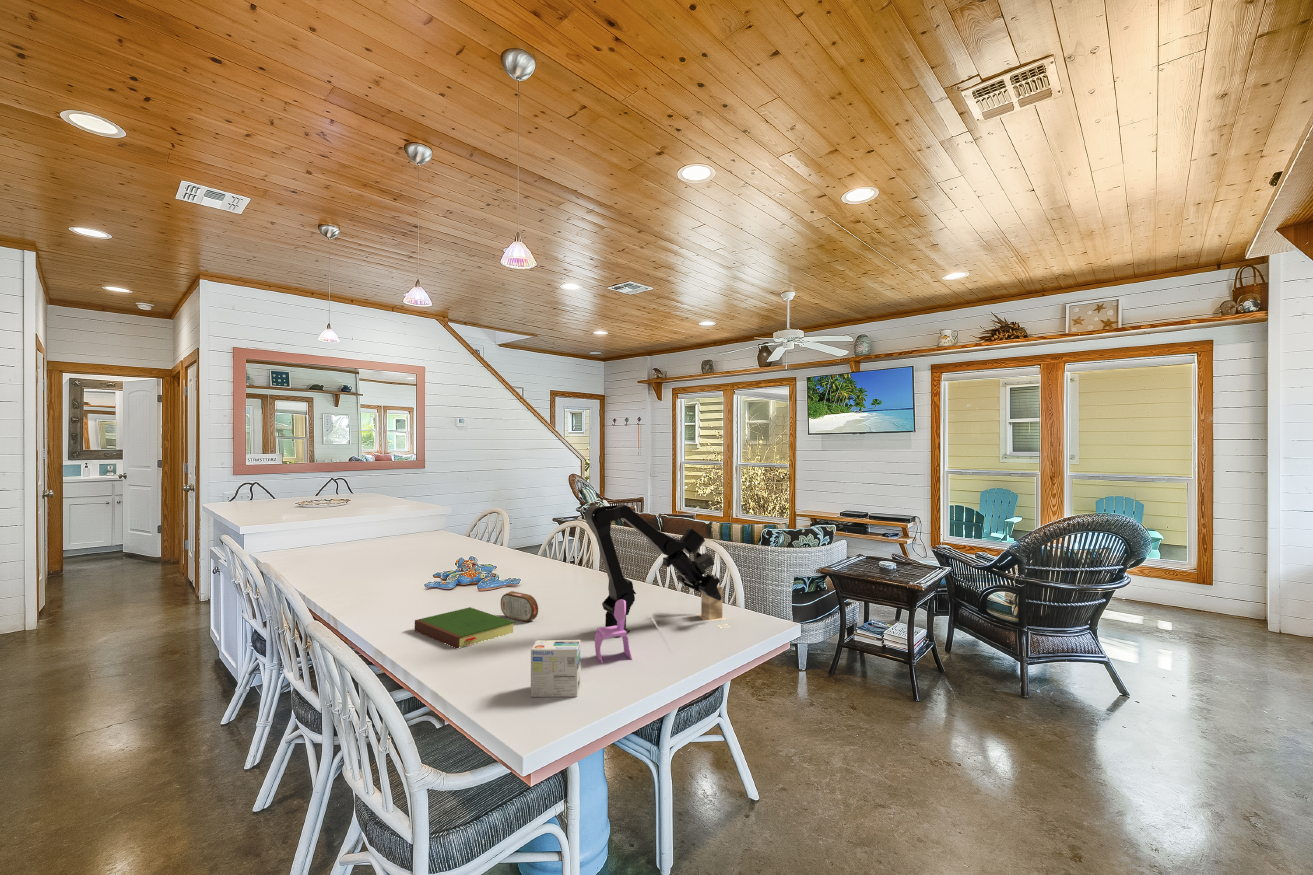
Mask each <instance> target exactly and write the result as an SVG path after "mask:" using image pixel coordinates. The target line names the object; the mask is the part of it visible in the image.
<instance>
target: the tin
mask: <svg viewBox="0 0 1313 875" xmlns="http://www.w3.org/2000/svg"><path fill="white" fill-rule="evenodd" d="M500 610H501V612H502V614H503V615H504V616H505V617H506V618H509V619H511V618H512V619H511V620H517V621H520V622H524V623H526V622H527V623H529V622H530V621H533V620H535V619H536V618H537V617H538V614H539V604H538V602H537V600H536V598H534V596H532V595H531V594H526V593H523V592H518V591H515V590H510V591H508V592H506V593H504V594H503V595H502V596H501V598H500Z"/></svg>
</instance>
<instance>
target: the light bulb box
mask: <svg viewBox="0 0 1313 875" xmlns="http://www.w3.org/2000/svg"><path fill="white" fill-rule="evenodd" d="M580 688H581V639H563V640H562V639H558V640H556V639H555V640H539V639H538V640H535V642H534V644H533V646H532V648H531V650H530V698H550V697H551V698H556V697H557V698H558V697H559V698H561V697H562V698H563V697H564V698H566V697H567V698H569V697H571V698H572V697H575V698H576V697H578V695H579V691H580Z"/></svg>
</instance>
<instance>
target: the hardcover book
mask: <svg viewBox="0 0 1313 875" xmlns="http://www.w3.org/2000/svg"><path fill="white" fill-rule="evenodd" d="M514 624H515V621H513V620H510V619H506V618H503V617H501V616H497V615H495V614H491V613H488V612H485V611H482V610H479V609H476V608H474V607H466V608H465V607H464V608H461V609H456V610H452V611H449V612H443V613H440V614H435V615H431V616H427V617H422V618H419V619H415V620H414V632H416V633H418V632H419V634H421V635H423V636H425V637H428V638H430V639H432V638H433V640H435V641H437V640H438V641H437V642H440V643H442V644H444V643H446V644H445V645H447V644H448V645H447V646H449V645H450V646H449V647H451V646H453V647H452V648H454V647H455V648H454V649H456V648H459V647H462V648H464V647H463V646H466V647H468V646H467V645H469V646H471V645H470V644H473V645H475V644H474V643H476V644H479V643H478V642H480V643H482V642H481V641H483V642H485V641H484V640H487V641H489V640H488V639H490V640H492V639H496V638H495V637H497V638H499V637H498V636H500V637H503V635H504V636H507V635H510V634H509V633H511V634H513V633H514ZM512 632H513V633H512ZM506 634H507V635H506ZM459 649H460V648H459Z"/></svg>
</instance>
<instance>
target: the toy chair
mask: <svg viewBox="0 0 1313 875" xmlns="http://www.w3.org/2000/svg"><path fill="white" fill-rule="evenodd" d="M625 615H626V601H625V600H622V599H620V600H618V601H617V602H616V603H615V610H614V617H615V619H616V620H617V625H616V626H611V627H605V626H601V627H596V631H595V634H594V648H595V650H594V651H595V656H596V658H597V659H598V660H599V662H600V663H601V664H602V665H603V664H604V662H603V658H602V654H601V652H602V651H601V647H602V643H603V641H604V640H605V639H606V640H607V639H610V638H615V637H616V636H620V637H621V639H622V642H623V643H622V644H623V652H624V654H625V655H626V656H627V657H628V658H629V659H630V660H631V661H632V660H633V657H632V654H631V649H630V645H629V642H630V641H629V636H628V635H627V634H628V633H627V632H626V631H625V630H624V622H625ZM626 616H627V615H626ZM616 638H617V637H616Z"/></svg>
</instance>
